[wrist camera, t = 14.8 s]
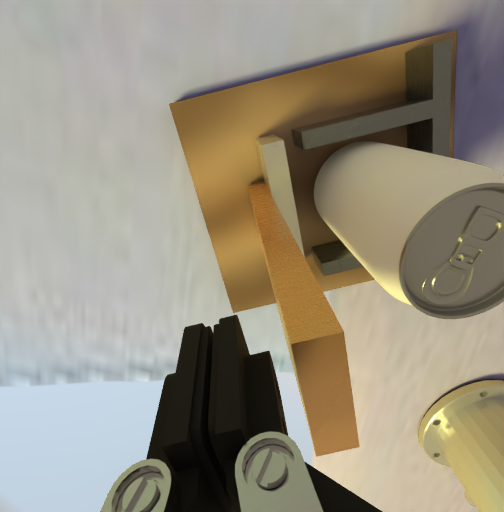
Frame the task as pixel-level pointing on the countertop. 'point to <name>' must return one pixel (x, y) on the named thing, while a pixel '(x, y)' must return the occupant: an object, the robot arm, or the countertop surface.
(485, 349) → the countertop surface
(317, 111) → the rail board
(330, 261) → the can holder
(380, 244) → the can
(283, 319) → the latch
